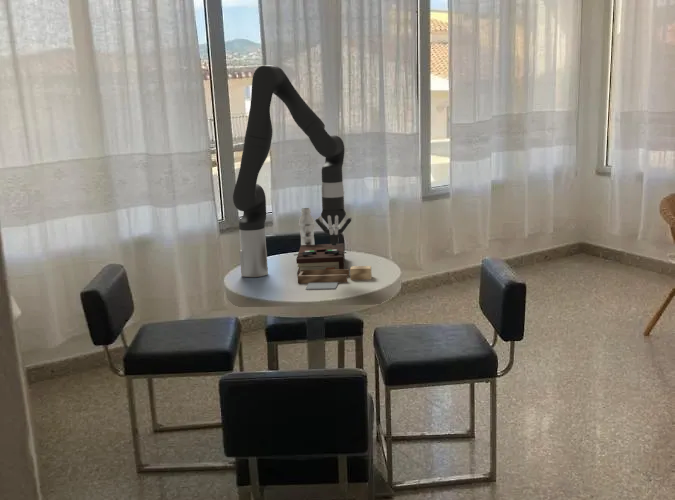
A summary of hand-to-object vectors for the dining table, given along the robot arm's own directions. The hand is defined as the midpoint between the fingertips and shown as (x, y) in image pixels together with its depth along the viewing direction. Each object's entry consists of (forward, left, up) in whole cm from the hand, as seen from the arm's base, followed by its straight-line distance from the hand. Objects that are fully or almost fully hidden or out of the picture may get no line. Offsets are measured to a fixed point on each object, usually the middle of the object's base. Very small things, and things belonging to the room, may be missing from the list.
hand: (334, 244), depth 246 cm
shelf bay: (-4, 0, -12) cm, 13 cm away
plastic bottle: (-15, +35, -12) cm, 40 cm away
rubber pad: (-4, -10, -12) cm, 16 cm away
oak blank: (+9, +1, -12) cm, 15 cm away
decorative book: (-7, +19, -13) cm, 24 cm away
